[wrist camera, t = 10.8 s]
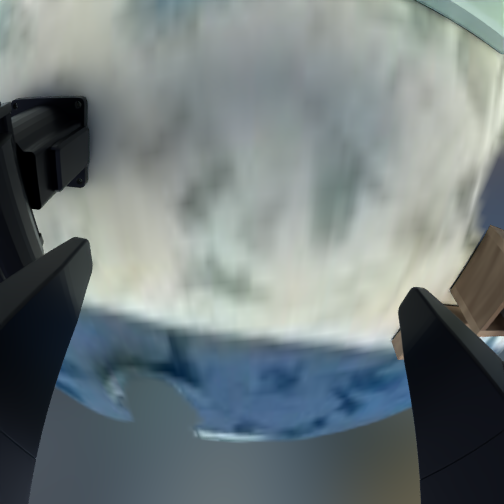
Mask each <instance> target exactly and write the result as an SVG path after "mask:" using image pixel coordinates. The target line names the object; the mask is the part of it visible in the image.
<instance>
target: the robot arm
mask: <svg viewBox="0 0 504 504" xmlns="http://www.w3.org/2000/svg"><path fill="white" fill-rule="evenodd" d="M78 101H79V102H80V103H81V107H79V106H78V104H77V103H78ZM16 103H17V105H18V108H17V107H16ZM10 112H11V113H10ZM88 164H89V129H88V128H87V100H86V98H84V97H82V96H56V97H32V98H18V99H15V100H13V101H12V102H7V103H3V104H1V102H0V504H28V503H29V496H30V490H31V484H32V478H33V472H34V467H35V462H36V459H35V458H36V457H37V452H38V448H39V443H40V439H41V435H42V431H43V426H44V423H45V419H46V415H47V411H48V408H49V404H50V401H51V398H52V394H53V391H54V388H55V384H56V381H57V378H58V375H59V372H60V369H61V366H62V363H63V360H64V357H65V354H66V351H67V348H68V346H69V343H70V340H71V337H72V335H73V332H74V329H75V327H76V324H77V321H78V318H79V314H80V311H81V307H82V303H83V300H84V296H85V293H86V289H87V286H88V283H89V280H90V276H91V273H92V257H91V250H90V243H89V241H88V240H87V239H84V238H78V237H73V238H71V239H70V240H68V241H66V242H65V243H63V244H61V245H59V246H58V247H56V248H54V249H53V250H51V251H49V252H48V253H46V254H45V255H44V251H43V247H42V246H43V242H44V241H43V238H42V235H41V233H39V231H38V228H37V225H36V222H35V218H34V215H33V212H32V209H37V210H39V209H41V208H42V207H43V206H44V204H45V203H46V202H47V201H48V200H49V199H50V198H51V197H52V196H53V195H54V194H55V193H56V192H61V191H62V190H63V189H64V188H65V187H66V186H69V187H78V188H81V187H84V186H85V184H86V183H87V181H88V176H87V165H88ZM79 178H80V179H82V182H80V181H79ZM398 315H399V323H400V331H401V339H402V348H403V357H404V363H405V368H406V374H407V379H408V385H409V391H410V397H411V404H412V410H413V417H414V424H415V433H416V441H417V451H418V461H419V474H420V492H421V504H504V361H502V360H501V358H499V356H498V355H497V354H496V353H495V352H494V351H493V350H492V349H490V348H489V347H488V346H487V345H486V344H485V343H484V342H483V341H482V340H481V339H480V338H479V337H478V336H477V335H476V334H475V333H474V332H473V331H472V330H471V329H470V328H469V327H467V326H466V325H465V324H464V323H463V322H462V321H461V320H460V319H459V318H458V317H457V316H456V315H454V314H453V313H452V312H451V311H450V310H449V309H448V308H447V307H446V306H444V305H443V304H442V303H441V302H440V301H439V300H438V299H437V298H435V297H434V296H433V295H432V294H431V293H430V292H429V291H427V290H426V289H425V288H420V287H413V288H412V289H410V291H409V292H408V294H407V295H406V297H405V299H404V300H403V302H402V303H401V305H400V307H399V310H398Z"/></svg>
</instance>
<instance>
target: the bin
mask: <svg viewBox="0 0 504 504" xmlns="http://www.w3.org/2000/svg"><path fill="white" fill-rule="evenodd" d="M450 292H451V293H452V295H453V297H454V299H455V300H456V302H457V304H458V306H459V308H460V309H461V311H462V313H463V315H464V317H465V319H466V320H467V322H468V324H469V326H470V328H471V330H472V331H473V332H474V333H475V334H476V335H477V336H478V337H488V336H504V230H503V229H500V228H497V227H495V226H492V225H490V227H489V228H488V230H487V232H486V234H485V236H484V237H483V239H482V241H481V243H480V244H479V246H478V248H477V249H476V251H475V253H474V254H473V256H472V258H471V259H470V261H469V263H468V264H467V266H466V267H465V269H464V271H463V272H462V274H461V275H460V277H459V278H458V280H457V281H456V283H455V284H454V286H453V287H452V289H451V290H450Z"/></svg>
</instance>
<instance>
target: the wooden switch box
mask: <svg viewBox="0 0 504 504" xmlns="http://www.w3.org/2000/svg"><path fill="white" fill-rule="evenodd" d="M444 306H445V305H444ZM446 307H447V308H448V309H449V310H450V311H451V312H452V313H453V314H454V315H456V316H457V317H458V318H459V319H460V320H461V321H462V322H463V323H464V324H465V325H466V326H467V327H469V328H470V326H469V324H468V322H467V320H466V319H465V317H464V315H463V313H462V311H461V309H460V308H459V307H457V306H446ZM470 329H471V328H470ZM392 344H393V347H394V350H395V353H396V356H397V359H398V360H404V357H403V348H402V339H401V331H399V332H398V333H397V335H396V336H395V337H394V339H393V340H392Z"/></svg>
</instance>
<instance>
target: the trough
mask: <svg viewBox="0 0 504 504" xmlns="http://www.w3.org/2000/svg"><path fill="white" fill-rule="evenodd" d="M416 1H418V2H420V3H422V4H424V5H425V6H427V7H429V8H431V9H433V10H435V11H437V12H438V13H440V14H442V15H444V16H445V17H447V18H449V19H450V20H452V21H454V22H455V23H457V24H459V25H460V26H462V27H463V28H465V29H467V30H468V31H470V32H471V33H473V34H474V35H476V36H477V37H479V38H480V39H481V40H483V41H484V42H486V43H487V44H488V45H490V46H491V47H493V48H494V49H495V50H497V51H498V52H499V53H501V54H504V0H416Z"/></svg>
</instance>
